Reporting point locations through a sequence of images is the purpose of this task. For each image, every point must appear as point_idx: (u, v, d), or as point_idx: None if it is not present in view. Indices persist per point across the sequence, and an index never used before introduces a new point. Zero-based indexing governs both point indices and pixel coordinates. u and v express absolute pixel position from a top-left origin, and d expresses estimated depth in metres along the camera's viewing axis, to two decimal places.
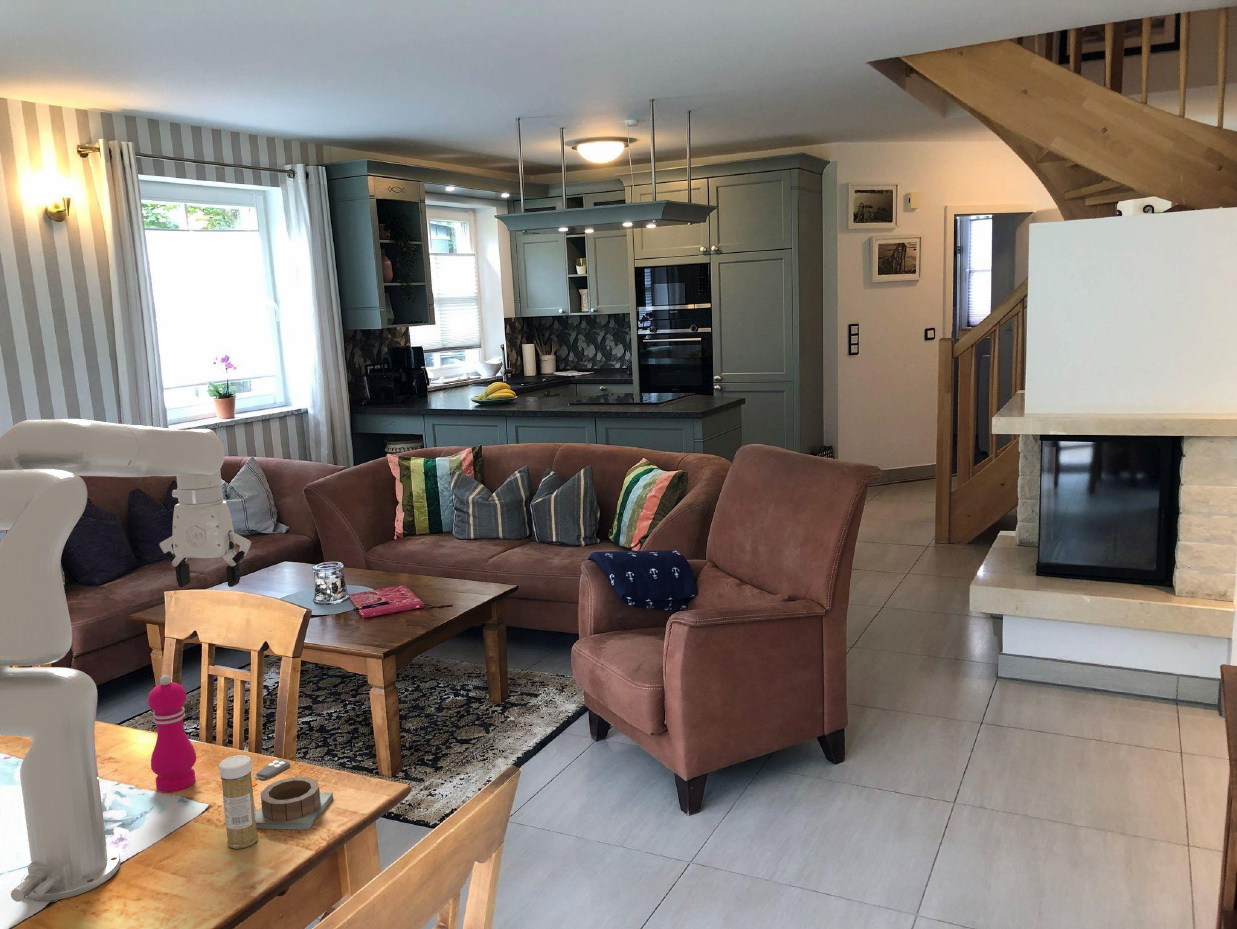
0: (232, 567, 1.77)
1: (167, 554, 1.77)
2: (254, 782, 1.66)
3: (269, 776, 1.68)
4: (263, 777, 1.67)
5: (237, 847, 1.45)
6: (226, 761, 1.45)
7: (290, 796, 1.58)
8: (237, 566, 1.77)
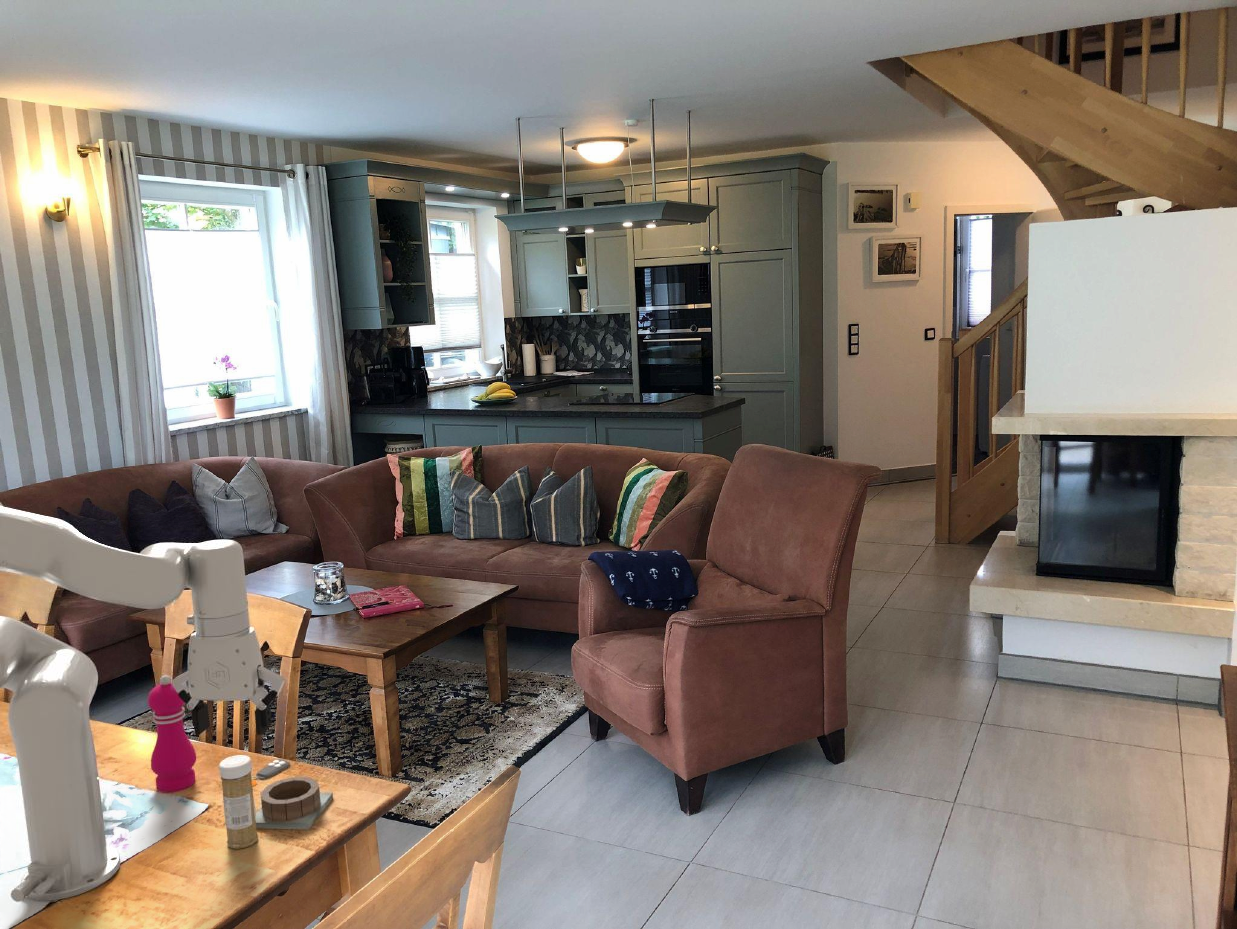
0: (262, 710, 1.42)
1: (181, 694, 1.43)
2: (254, 782, 1.66)
3: (269, 776, 1.68)
4: (263, 777, 1.67)
5: (237, 847, 1.45)
6: (226, 761, 1.45)
7: (290, 796, 1.58)
8: (268, 708, 1.43)
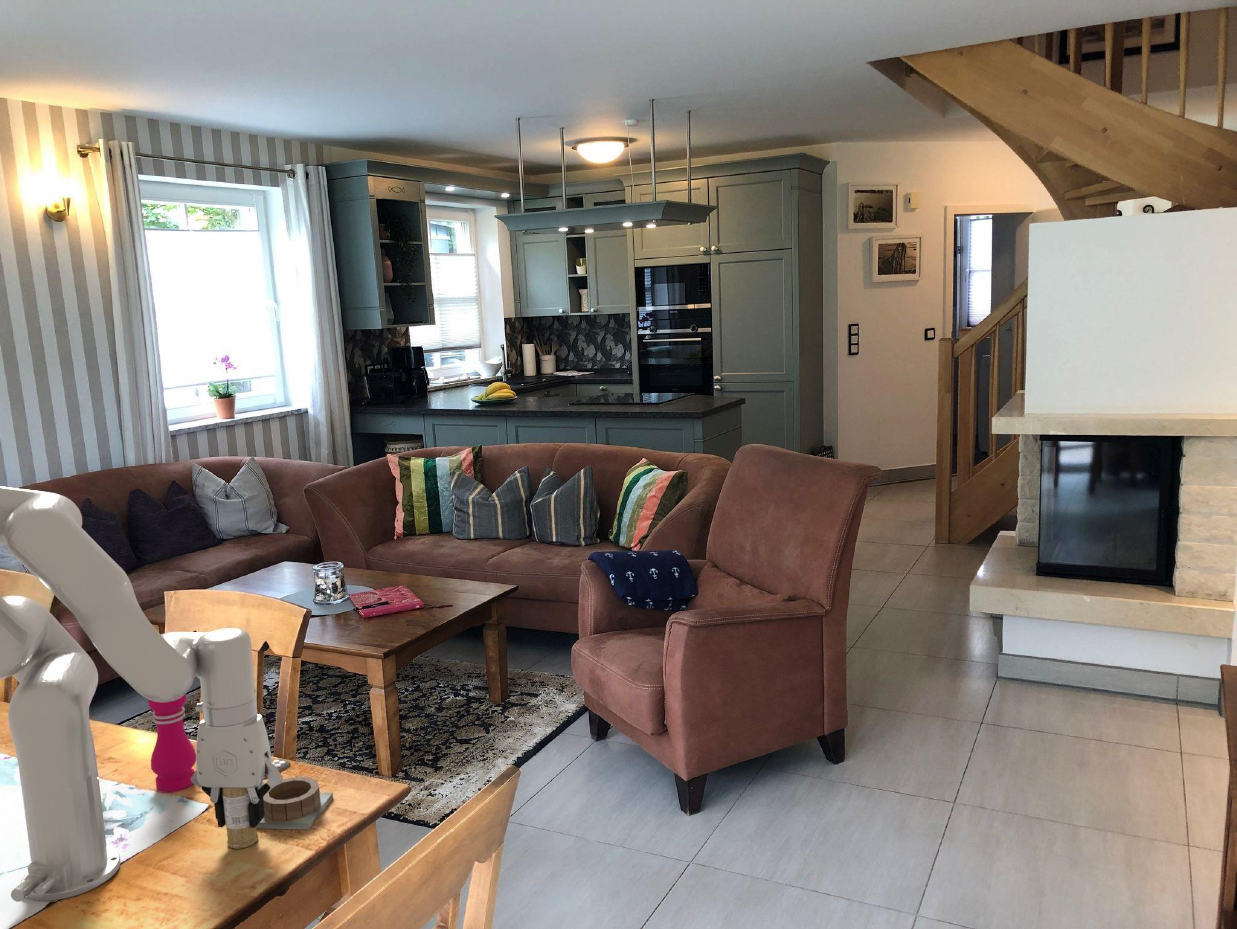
0: (255, 804, 1.45)
1: (204, 787, 1.45)
2: None
3: None
4: None
5: (237, 847, 1.45)
6: None
7: (290, 796, 1.58)
8: (261, 801, 1.46)
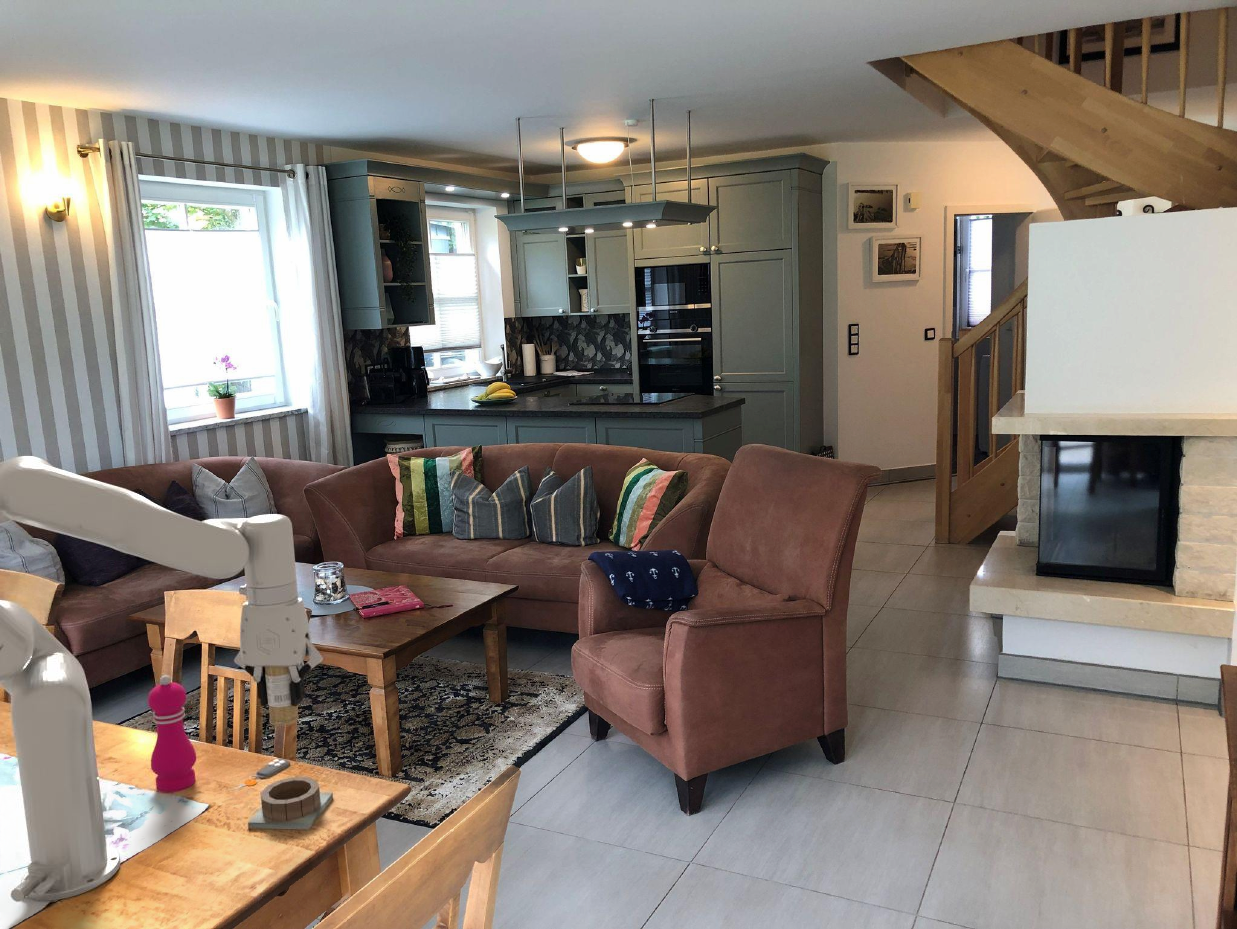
0: (296, 683, 1.51)
1: (247, 668, 1.51)
2: (254, 781, 1.66)
3: (269, 775, 1.68)
4: (263, 776, 1.68)
5: (279, 724, 1.51)
6: None
7: (290, 796, 1.58)
8: (302, 681, 1.52)
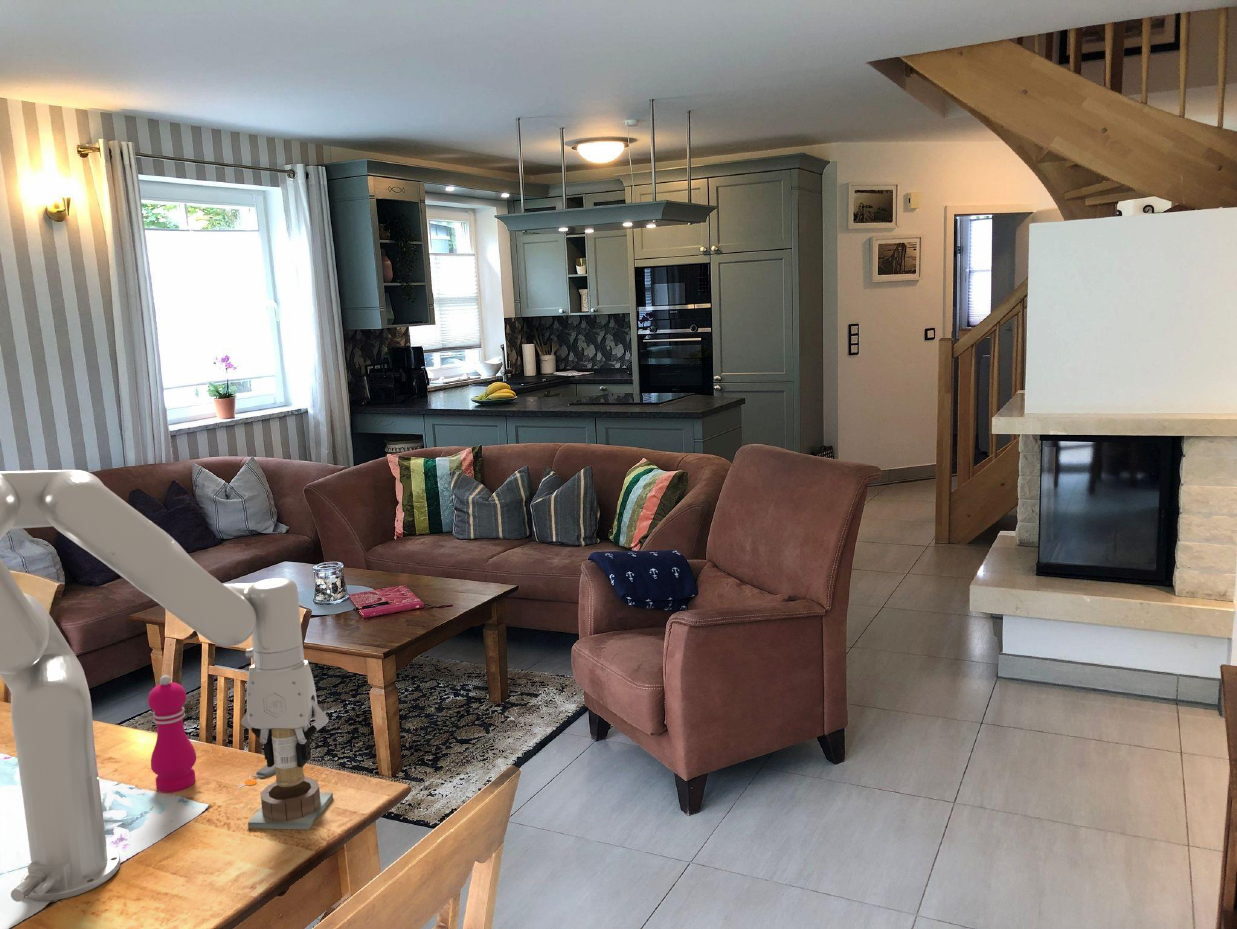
0: (302, 744, 1.53)
1: (254, 729, 1.53)
2: (254, 780, 1.66)
3: (269, 774, 1.68)
4: (263, 775, 1.68)
5: (286, 785, 1.52)
6: None
7: (290, 796, 1.58)
8: (308, 742, 1.53)
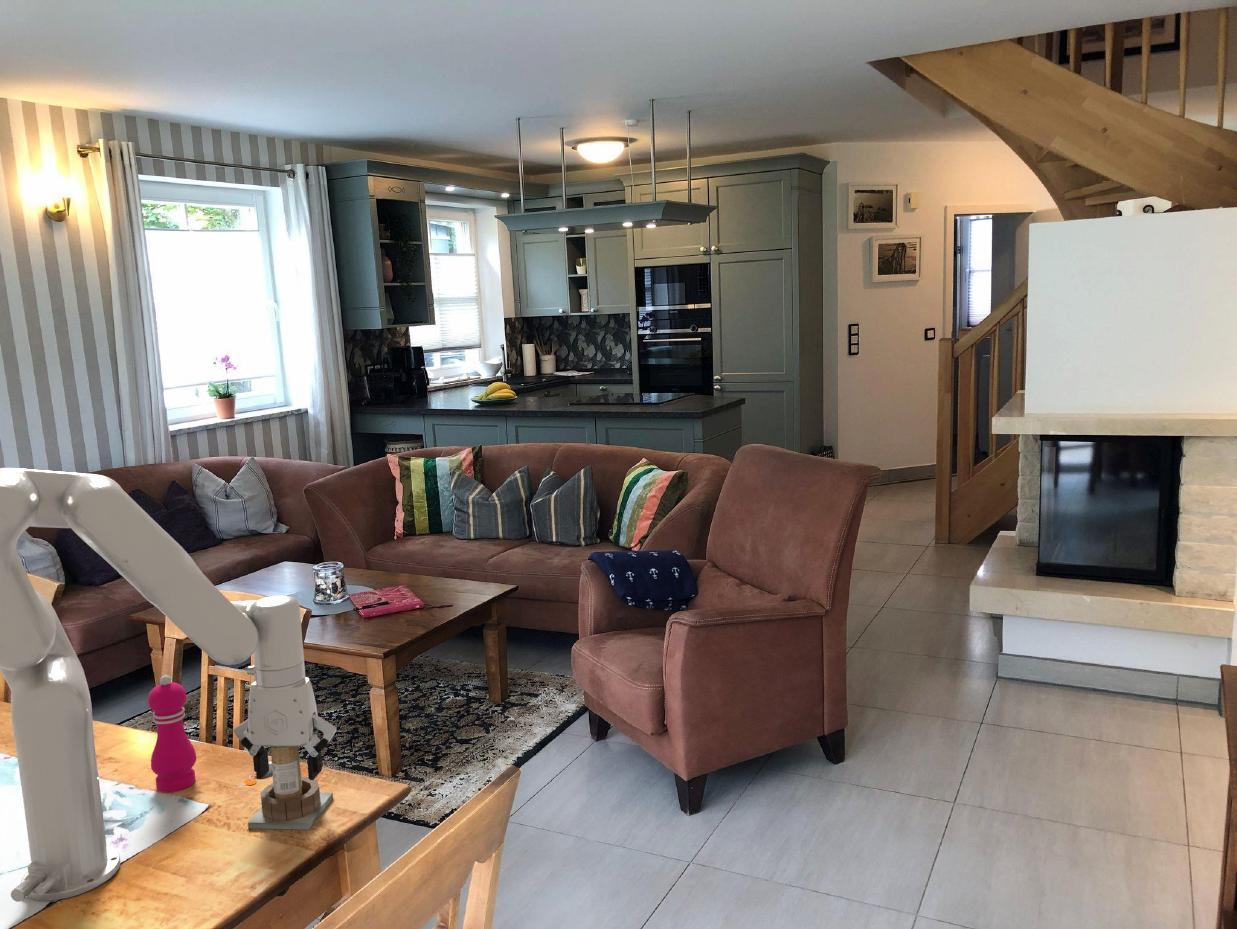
0: (313, 757, 1.53)
1: (244, 741, 1.53)
2: (254, 780, 1.66)
3: (269, 774, 1.68)
4: None
5: None
6: None
7: None
8: (319, 755, 1.53)
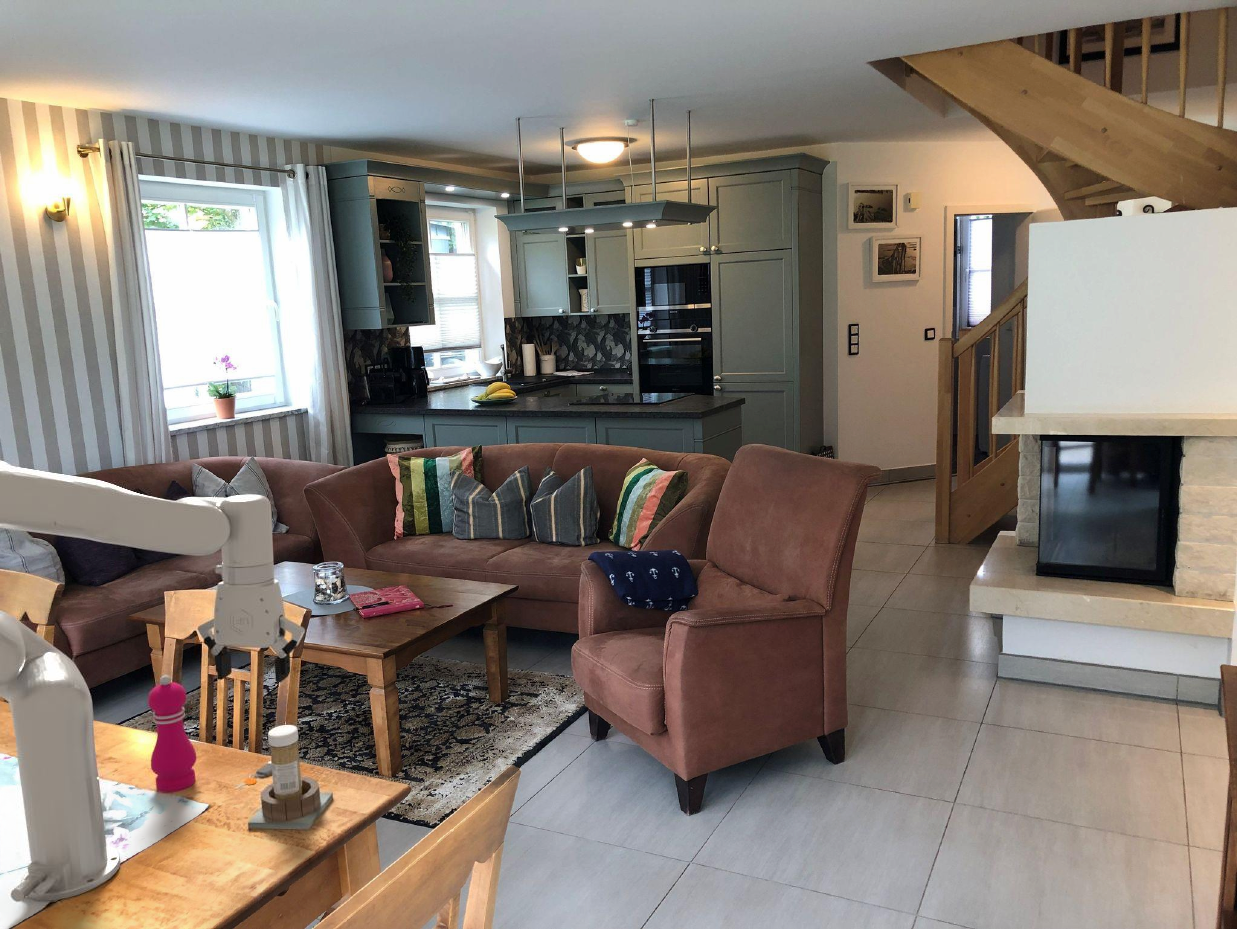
0: (281, 659, 1.50)
1: (206, 640, 1.51)
2: (254, 780, 1.67)
3: (269, 774, 1.69)
4: (263, 775, 1.68)
5: None
6: (274, 730, 1.53)
7: None
8: (287, 657, 1.50)
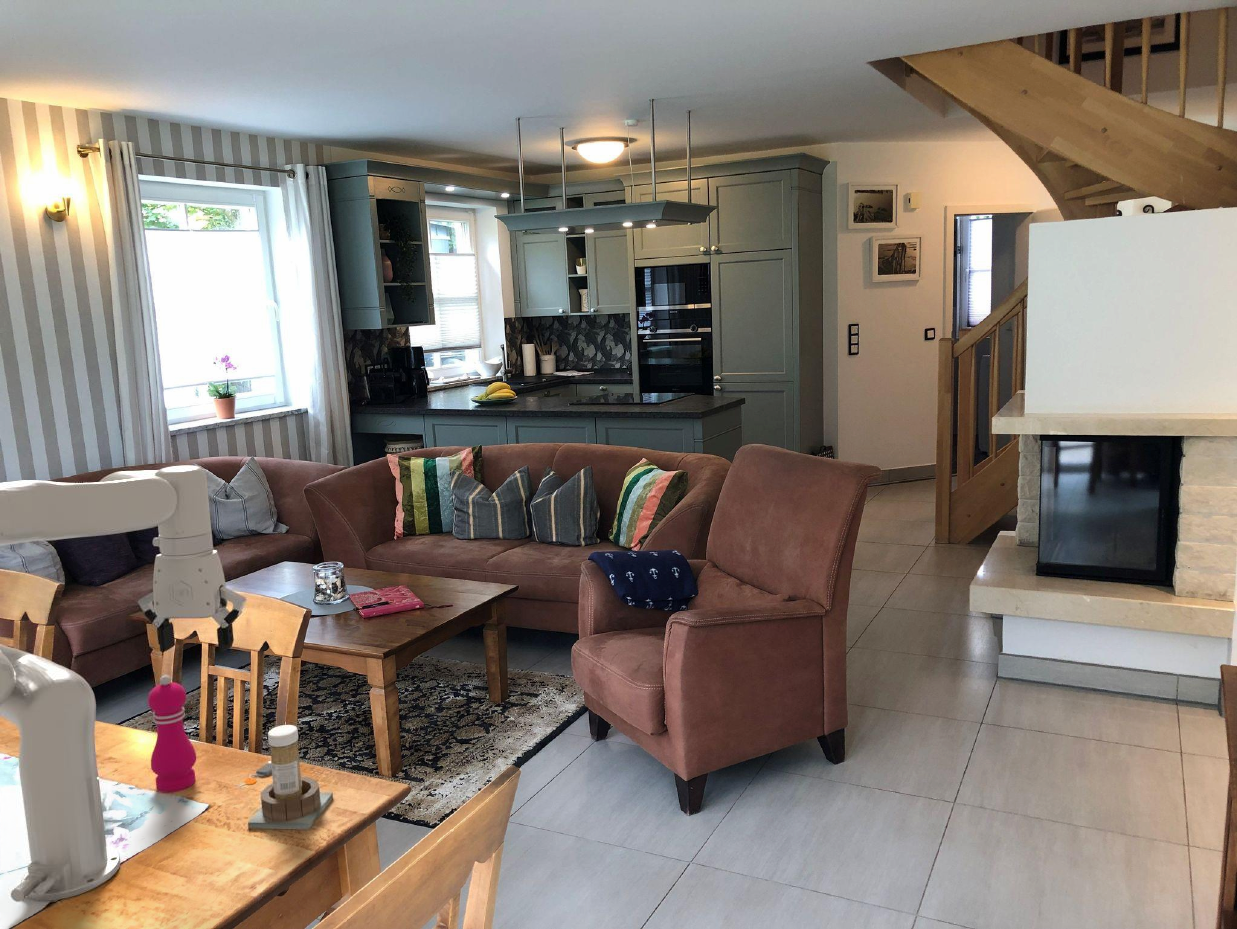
0: (224, 629, 1.50)
1: (147, 613, 1.50)
2: (254, 779, 1.67)
3: (269, 773, 1.69)
4: (263, 774, 1.68)
5: None
6: (274, 730, 1.53)
7: None
8: (230, 627, 1.50)
